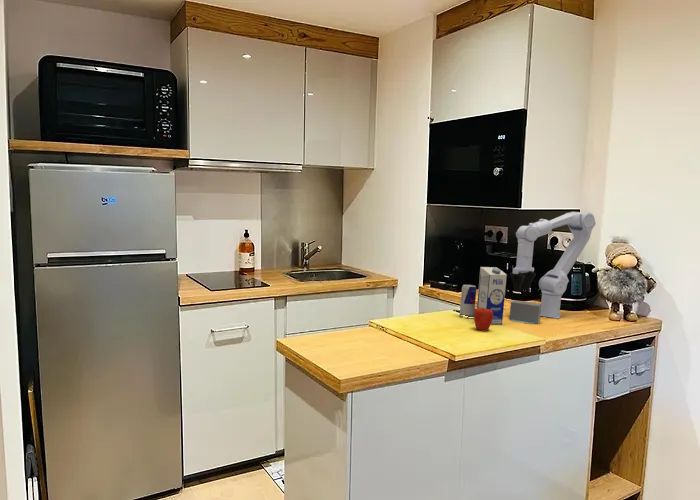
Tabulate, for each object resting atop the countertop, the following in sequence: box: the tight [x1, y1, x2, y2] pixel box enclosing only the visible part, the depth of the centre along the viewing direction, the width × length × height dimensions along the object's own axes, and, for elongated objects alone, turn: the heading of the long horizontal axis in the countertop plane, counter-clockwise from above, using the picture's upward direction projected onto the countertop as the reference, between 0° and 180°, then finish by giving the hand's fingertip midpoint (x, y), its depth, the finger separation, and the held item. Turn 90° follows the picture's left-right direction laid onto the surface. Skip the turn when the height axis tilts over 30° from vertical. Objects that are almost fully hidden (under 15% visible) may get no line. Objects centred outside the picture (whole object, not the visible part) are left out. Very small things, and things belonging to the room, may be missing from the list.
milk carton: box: [476, 266, 508, 325], centre depth 189 cm, size 7×7×20 cm
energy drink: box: [459, 284, 477, 317], centre depth 196 cm, size 5×5×12 cm
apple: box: [473, 307, 493, 331], centre depth 177 cm, size 6×6×8 cm
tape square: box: [510, 320, 534, 325], centre depth 197 cm, size 8×8×1 cm
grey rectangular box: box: [508, 299, 542, 325], centre depth 196 cm, size 6×10×7 cm, turn 62°
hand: (521, 291), depth 204 cm, fingers open, 7 cm apart
